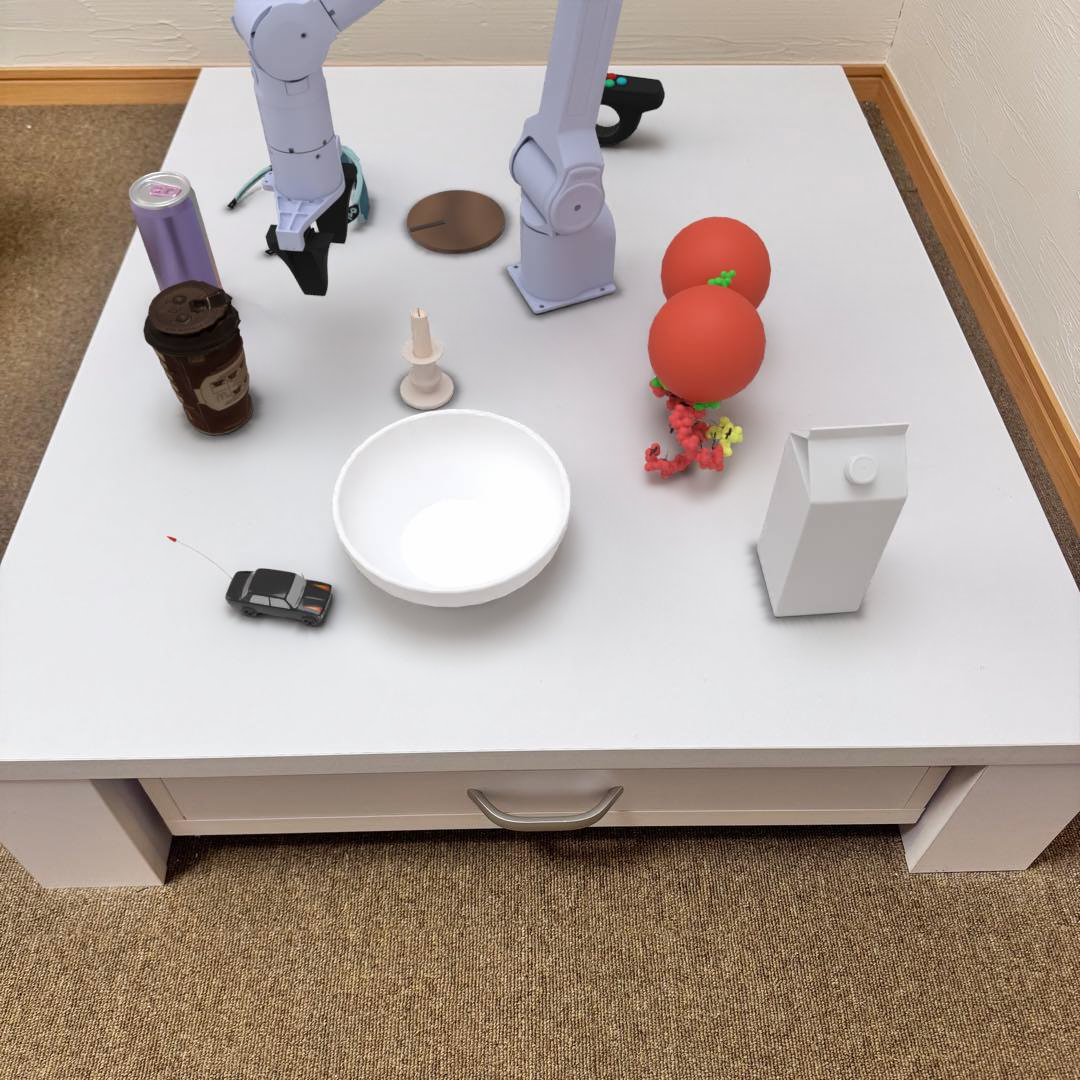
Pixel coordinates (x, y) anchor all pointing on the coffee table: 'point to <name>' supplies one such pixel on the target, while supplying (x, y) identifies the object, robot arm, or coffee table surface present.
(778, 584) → the milk carton
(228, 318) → the coffee cup
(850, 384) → the coffee table surface
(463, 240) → the coaster
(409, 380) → the candle
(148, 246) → the beverage can
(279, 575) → the toy car
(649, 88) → the controller
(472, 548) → the bowl
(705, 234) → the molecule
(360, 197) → the sunglasses
